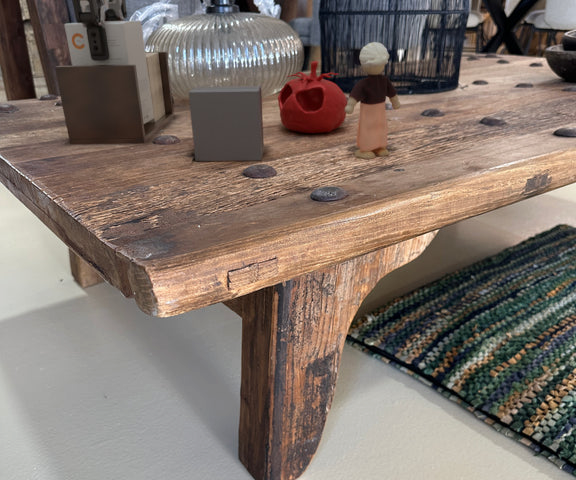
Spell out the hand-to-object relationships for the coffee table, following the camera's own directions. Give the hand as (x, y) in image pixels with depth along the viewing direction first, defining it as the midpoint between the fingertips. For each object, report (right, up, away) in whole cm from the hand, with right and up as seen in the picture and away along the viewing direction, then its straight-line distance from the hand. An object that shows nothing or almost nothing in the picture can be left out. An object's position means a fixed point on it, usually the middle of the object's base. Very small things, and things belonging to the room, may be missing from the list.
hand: (109, 56), depth 76 cm
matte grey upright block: (+17, -15, -6) cm, 23 cm away
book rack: (0, -8, +7) cm, 11 cm away
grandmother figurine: (+34, -15, -7) cm, 38 cm away
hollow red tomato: (+27, -8, +7) cm, 29 cm away
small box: (0, -8, +4) cm, 9 cm away
